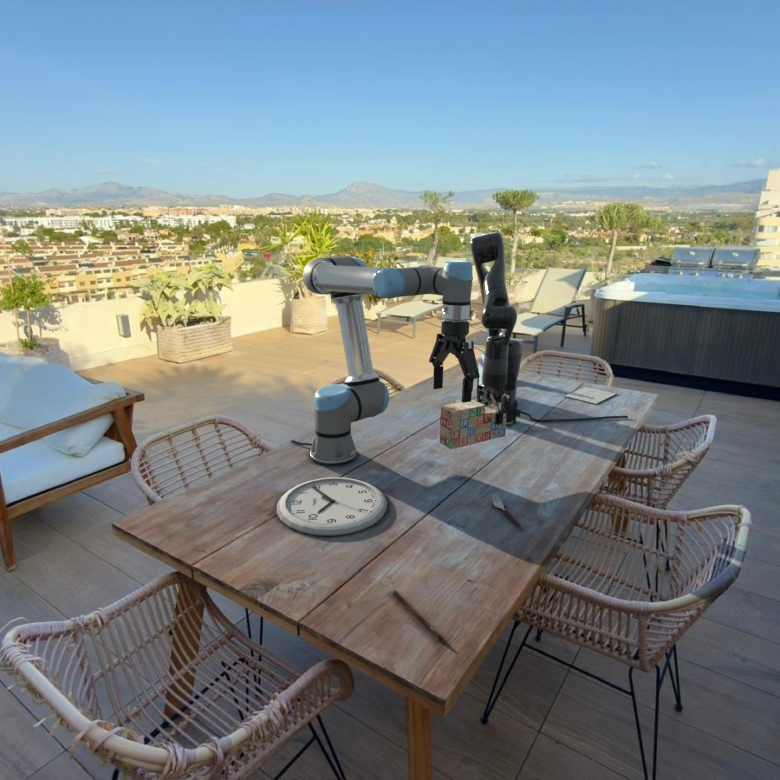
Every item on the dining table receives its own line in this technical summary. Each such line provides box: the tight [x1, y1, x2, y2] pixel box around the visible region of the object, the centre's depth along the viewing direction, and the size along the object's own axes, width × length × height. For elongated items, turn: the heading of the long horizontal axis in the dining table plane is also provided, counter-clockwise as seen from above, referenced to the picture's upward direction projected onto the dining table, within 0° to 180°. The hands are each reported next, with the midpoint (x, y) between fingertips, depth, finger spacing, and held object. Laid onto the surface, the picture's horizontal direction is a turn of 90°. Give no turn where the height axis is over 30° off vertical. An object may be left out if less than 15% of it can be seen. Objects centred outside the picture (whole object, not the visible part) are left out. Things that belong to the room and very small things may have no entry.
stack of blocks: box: [439, 399, 507, 450], centre depth 163 cm, size 21×6×12 cm, turn 119°
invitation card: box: [564, 386, 616, 405], centre depth 242 cm, size 21×1×15 cm
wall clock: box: [276, 476, 388, 537], centre depth 142 cm, size 30×2×30 cm
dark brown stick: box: [392, 590, 441, 641], centre depth 102 cm, size 15×1×1 cm, turn 34°
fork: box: [489, 492, 523, 529], centre depth 139 cm, size 3×16×2 cm, turn 15°
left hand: (451, 394), depth 147 cm, fingers open, 13 cm apart
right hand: (491, 420), depth 167 cm, fingers closed on stack of blocks, 6 cm apart
